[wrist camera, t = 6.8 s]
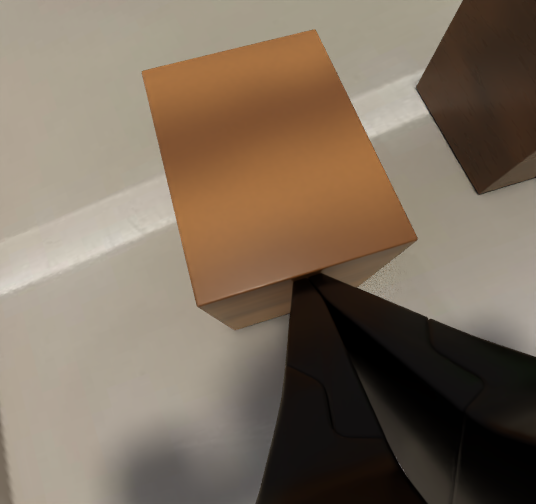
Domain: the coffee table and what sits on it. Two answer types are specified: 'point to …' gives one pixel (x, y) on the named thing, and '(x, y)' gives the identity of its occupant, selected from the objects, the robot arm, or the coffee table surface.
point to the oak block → (270, 176)
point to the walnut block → (487, 90)
